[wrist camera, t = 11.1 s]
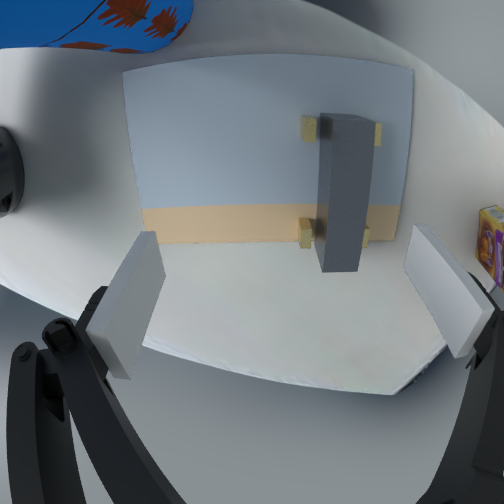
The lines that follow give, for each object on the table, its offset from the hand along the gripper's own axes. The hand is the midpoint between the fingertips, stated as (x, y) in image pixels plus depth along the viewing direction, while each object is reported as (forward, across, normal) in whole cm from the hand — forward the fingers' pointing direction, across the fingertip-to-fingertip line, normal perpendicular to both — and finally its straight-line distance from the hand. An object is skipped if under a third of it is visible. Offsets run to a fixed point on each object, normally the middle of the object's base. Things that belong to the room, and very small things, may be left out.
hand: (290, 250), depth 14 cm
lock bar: (+19, +7, -3) cm, 21 cm away
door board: (+20, 0, 0) cm, 20 cm away
